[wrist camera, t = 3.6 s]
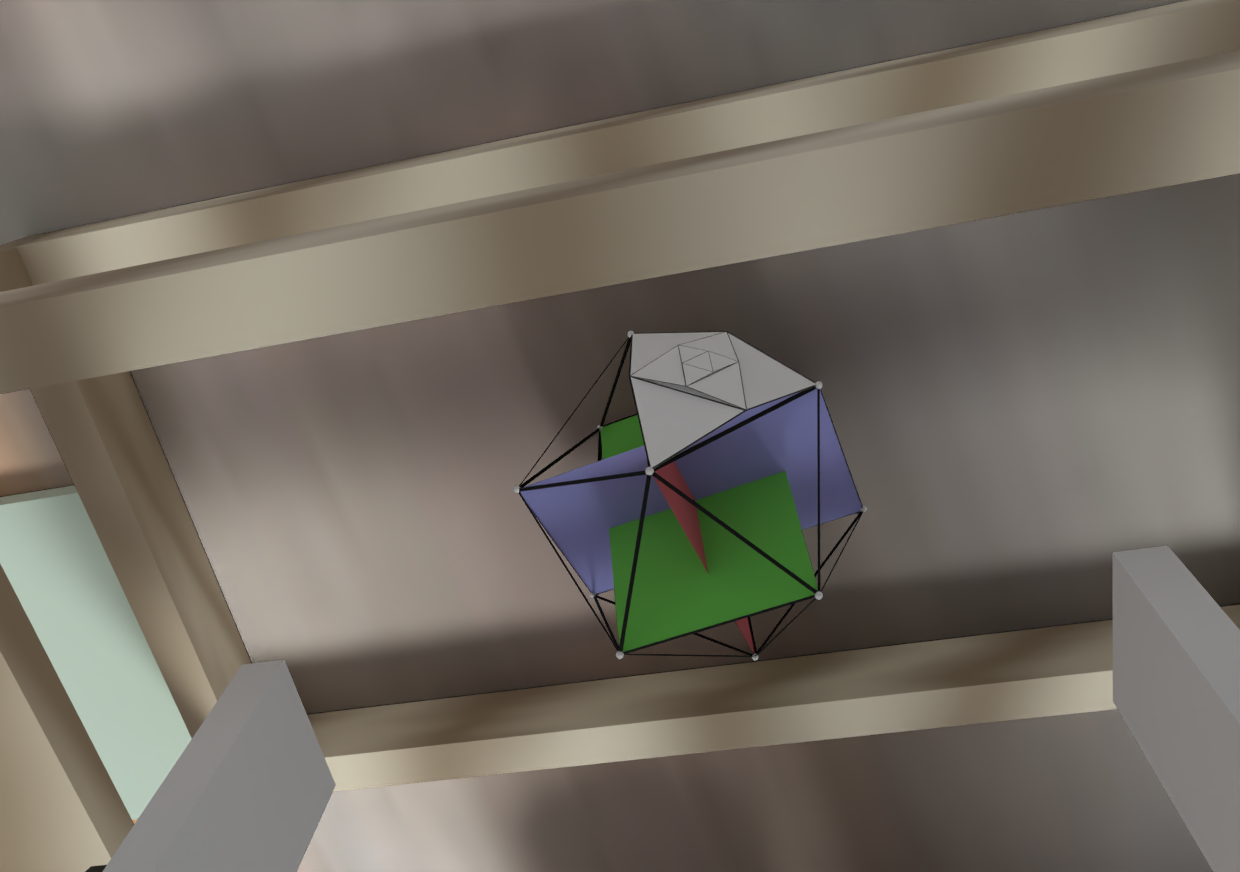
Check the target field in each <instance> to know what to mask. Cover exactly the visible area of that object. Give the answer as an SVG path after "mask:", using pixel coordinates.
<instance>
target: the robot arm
mask: <svg viewBox="0 0 1240 872" xmlns="http://www.w3.org/2000/svg"><path fill="white" fill-rule="evenodd" d="M1113 702H1114V704H1115V706H1116V707H1117V709H1118V711H1119V713H1120V714H1121V716H1122V718H1123V719H1124V721H1125V723H1126V724H1127V726H1128V728H1129V730H1130V731H1131V733H1132V735H1133V736H1134V738H1135V740H1136V741H1137V743H1138V745H1139V747H1140V748H1141V750H1142V752H1143V753H1144V755H1145V757H1146V758H1147V760H1148V762H1149V764H1150V765H1151V767H1152V769H1153V770H1154V772H1155V774H1156V775H1157V777H1158V779H1159V781H1160V782H1161V784H1162V786H1163V787H1164V789H1165V791H1166V792H1167V794H1168V796H1169V798H1170V799H1171V801H1172V803H1173V804H1174V806H1175V808H1176V809H1177V811H1178V813H1179V815H1180V816H1181V818H1182V820H1183V821H1184V823H1185V825H1186V826H1187V828H1188V830H1189V832H1190V833H1191V835H1192V837H1193V838H1194V840H1195V842H1196V844H1197V845H1198V847H1199V849H1200V850H1201V852H1202V854H1203V855H1204V857H1205V859H1206V861H1207V862H1208V864H1209V866H1210V867H1211V869H1212V871H1213V872H1240V630H1239V629H1238V627H1237V626H1236V625H1235V624H1234V623H1233V622H1232V620H1231V619H1230V618H1229V617H1228V616H1227V614H1226V613H1225V612H1224V611H1223V610H1222V609H1221V607H1220V606H1219V605H1218V604H1217V603H1216V602H1215V600H1214V599H1213V598H1212V597H1211V596H1210V595H1209V593H1208V592H1207V591H1206V590H1205V589H1204V587H1203V586H1202V585H1201V584H1200V583H1199V582H1198V580H1197V579H1196V578H1195V577H1194V576H1193V575H1192V573H1191V572H1190V571H1189V570H1188V569H1187V568H1186V566H1185V565H1184V564H1183V563H1182V562H1181V560H1180V559H1179V558H1178V557H1177V556H1176V555H1175V553H1174V552H1173V551H1172V550H1171V549H1170V548H1169V546H1168V545H1167V546H1159V547H1151V548H1144V549H1136V550H1128V551H1120V552H1113ZM335 786H336V784H335V782H334V779H333V777H332V774H331V772H330V770H329V767H328V765H327V762H326V760H325V757H324V755H323V753H322V750H321V748H320V745H319V743H318V740H317V738H316V735H315V733H314V731H313V728H312V726H311V723H310V721H309V718H308V716H307V714H306V711H305V709H304V706H303V704H302V701H301V699H300V697H299V694H298V692H297V689H296V687H295V684H294V682H293V679H292V677H291V675H290V672H289V670H288V667H287V665H286V662H285V660H284V659H282V660H275V661H267V662H259V663H251V664H244V665H241V667H240V668H239V670H238V671H237V673H236V674H235V676H234V677H233V678H232V680H231V681H230V683H229V684H228V686H227V687H226V689H225V690H224V692H223V693H222V695H221V696H220V698H219V699H218V701H217V702H216V704H215V705H214V707H213V708H212V710H211V711H210V713H209V714H208V716H207V717H206V719H205V720H204V722H203V723H202V725H201V726H200V728H199V729H198V731H197V732H196V733H195V735H194V736H193V738H192V739H191V741H190V742H189V744H188V745H187V747H186V748H185V750H184V751H183V753H182V754H181V756H180V757H179V759H178V760H177V762H176V763H175V765H174V766H173V768H172V769H171V771H170V772H169V774H168V775H167V777H166V778H165V780H164V781H163V783H162V784H161V786H160V787H159V789H158V790H157V791H156V793H155V794H154V796H153V797H152V799H151V800H150V802H149V803H148V805H147V806H146V808H145V809H144V811H143V812H142V814H141V815H140V817H139V818H138V820H137V821H136V823H135V824H134V826H133V827H132V829H131V830H130V832H129V833H128V835H127V836H126V838H125V839H124V841H123V842H122V844H121V845H120V846H119V848H118V849H117V851H116V852H115V854H114V855H113V857H112V858H111V860H110V861H109V863H108V864H107V865H99V866H91V867H90V868H89V869H87V870H86V871H85V872H297V870H298V868H299V865H300V863H301V861H302V859H303V856H304V854H305V852H306V850H307V848H308V845H309V843H310V841H311V839H312V837H313V834H314V832H315V830H316V828H317V826H318V823H319V821H320V819H321V817H322V814H323V812H324V810H325V808H326V806H327V803H328V801H329V799H330V797H331V795H332V792H333V790H334V788H335Z"/></svg>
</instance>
